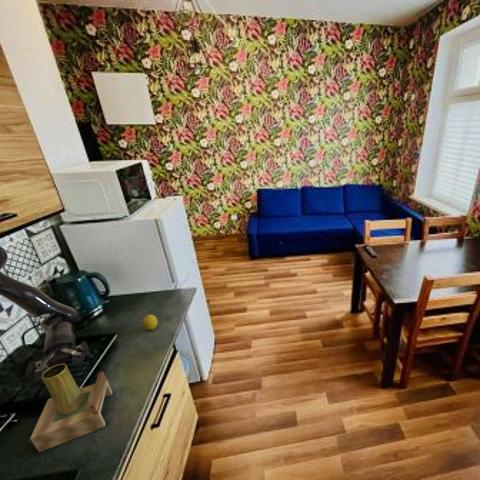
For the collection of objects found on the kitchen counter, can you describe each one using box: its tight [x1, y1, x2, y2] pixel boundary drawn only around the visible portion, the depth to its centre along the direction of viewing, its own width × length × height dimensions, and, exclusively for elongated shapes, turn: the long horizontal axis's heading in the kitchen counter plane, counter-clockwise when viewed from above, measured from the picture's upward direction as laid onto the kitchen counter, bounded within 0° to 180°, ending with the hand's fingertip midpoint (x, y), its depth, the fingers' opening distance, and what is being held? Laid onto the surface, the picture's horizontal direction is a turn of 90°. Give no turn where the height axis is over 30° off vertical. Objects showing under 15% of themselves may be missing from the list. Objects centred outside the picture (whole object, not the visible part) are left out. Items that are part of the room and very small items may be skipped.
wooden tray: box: [29, 371, 113, 453], centre depth 81 cm, size 15×13×10 cm
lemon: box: [142, 314, 158, 331], centre depth 118 cm, size 6×6×8 cm
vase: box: [42, 363, 85, 415], centre depth 78 cm, size 6×6×14 cm
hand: (60, 373), depth 80 cm, fingers open, 8 cm apart
